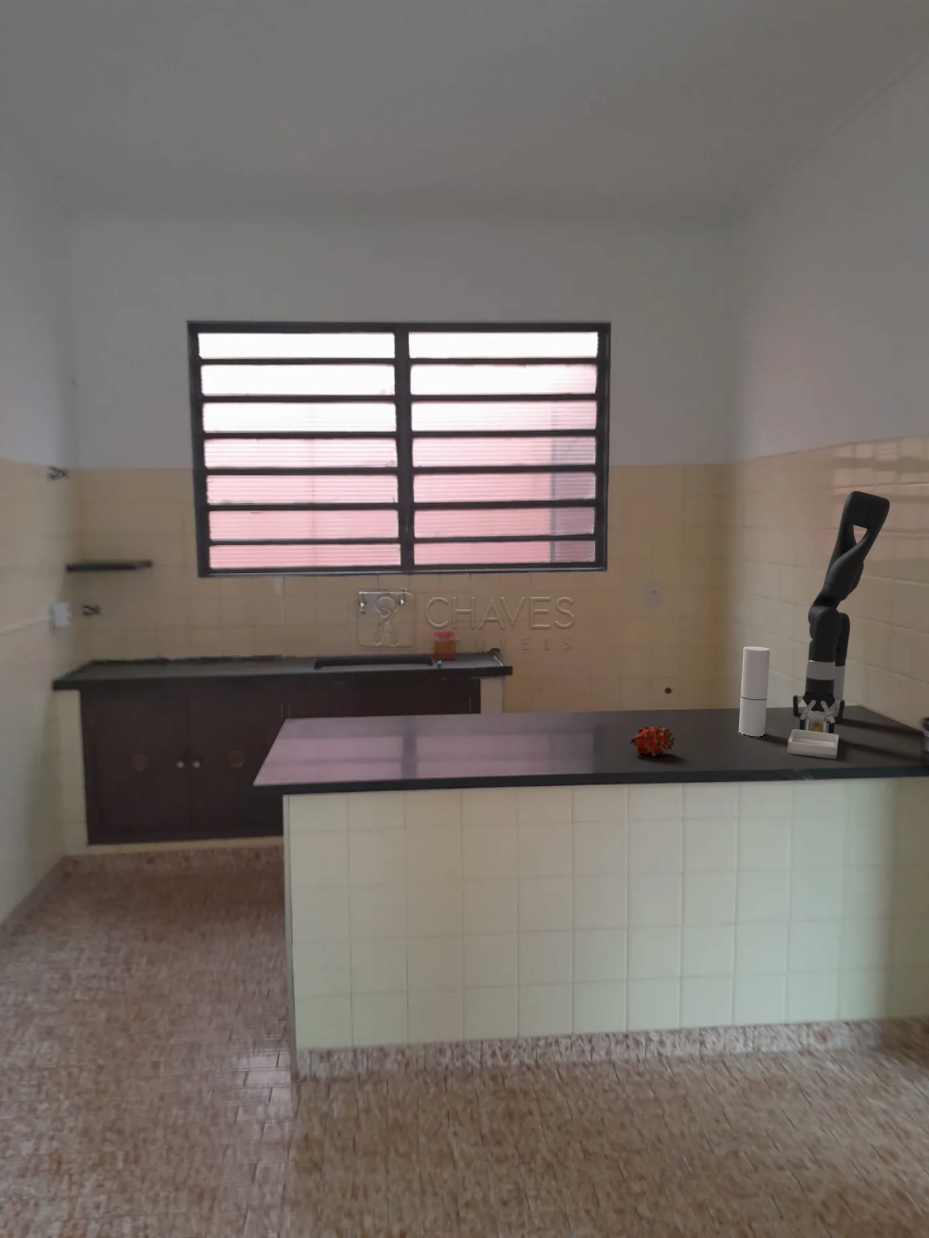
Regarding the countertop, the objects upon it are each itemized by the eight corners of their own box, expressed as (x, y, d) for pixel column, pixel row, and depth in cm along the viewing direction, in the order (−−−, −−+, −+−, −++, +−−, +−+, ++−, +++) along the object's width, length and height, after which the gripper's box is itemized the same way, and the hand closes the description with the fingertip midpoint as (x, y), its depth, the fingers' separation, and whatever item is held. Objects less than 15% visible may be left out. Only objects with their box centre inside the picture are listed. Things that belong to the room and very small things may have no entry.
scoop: (807, 733, 251) (808, 713, 250) (825, 735, 249) (827, 715, 248) (805, 740, 244) (806, 719, 243) (824, 742, 242) (825, 721, 241)
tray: (791, 739, 244) (792, 729, 243) (837, 744, 239) (838, 734, 238) (787, 753, 230) (787, 742, 230) (836, 759, 225) (836, 748, 225)
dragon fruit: (677, 760, 228) (633, 767, 227) (667, 735, 234) (624, 742, 233) (681, 740, 222) (635, 748, 221) (670, 715, 228) (626, 722, 227)
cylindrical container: (765, 732, 251) (771, 647, 248) (763, 738, 245) (768, 651, 241) (740, 729, 254) (745, 645, 251) (737, 735, 248) (741, 649, 244)
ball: (808, 729, 247) (809, 731, 244) (817, 723, 246) (818, 725, 244) (815, 737, 247) (816, 740, 244) (824, 731, 246) (825, 733, 243)
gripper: (792, 675, 243) (788, 733, 246) (847, 680, 237) (843, 739, 240) (794, 671, 250) (790, 727, 252) (848, 676, 244) (844, 733, 246)
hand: (816, 733), depth 246 cm, fingers open, 6 cm apart
